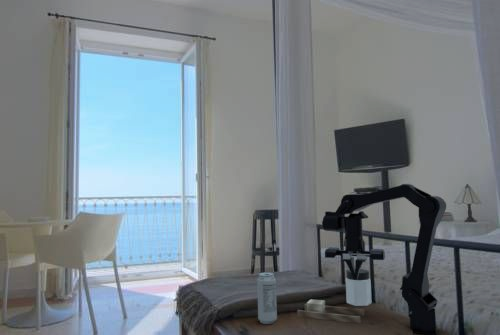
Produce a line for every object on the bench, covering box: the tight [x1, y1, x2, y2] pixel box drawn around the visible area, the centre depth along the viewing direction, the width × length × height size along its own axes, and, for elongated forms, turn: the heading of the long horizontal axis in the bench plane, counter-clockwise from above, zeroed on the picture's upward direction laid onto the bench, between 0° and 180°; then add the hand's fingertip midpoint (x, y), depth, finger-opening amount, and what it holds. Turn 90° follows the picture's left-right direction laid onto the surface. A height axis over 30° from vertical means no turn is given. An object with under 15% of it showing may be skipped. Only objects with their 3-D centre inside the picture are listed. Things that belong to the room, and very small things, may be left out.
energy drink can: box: [256, 272, 278, 325], centre depth 124 cm, size 6×6×15 cm
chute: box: [296, 303, 365, 324], centre depth 126 cm, size 20×9×2 cm, turn 65°
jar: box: [345, 268, 372, 307], centre depth 141 cm, size 9×8×12 cm
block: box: [306, 299, 327, 313], centre depth 128 cm, size 5×5×4 cm
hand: (355, 280), depth 126 cm, fingers closed
